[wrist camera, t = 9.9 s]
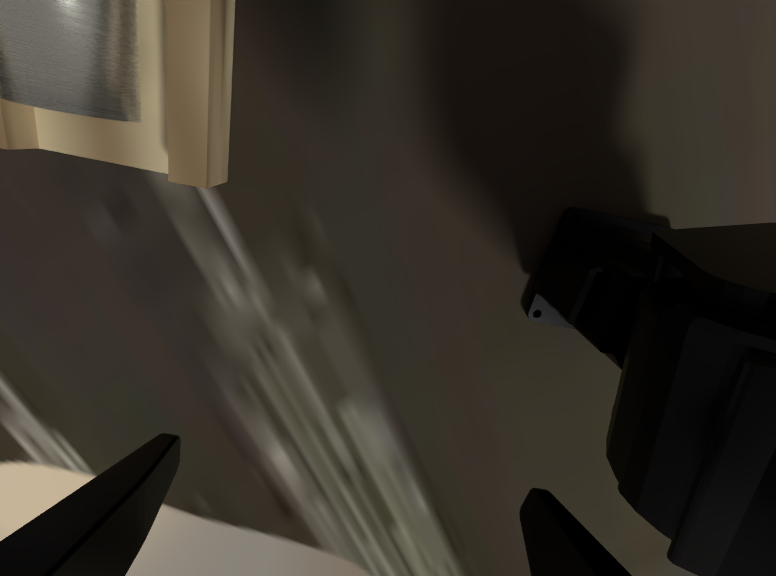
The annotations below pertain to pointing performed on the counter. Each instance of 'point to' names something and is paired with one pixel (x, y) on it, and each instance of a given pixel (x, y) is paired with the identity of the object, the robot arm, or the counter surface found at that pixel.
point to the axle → (72, 56)
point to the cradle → (155, 100)
